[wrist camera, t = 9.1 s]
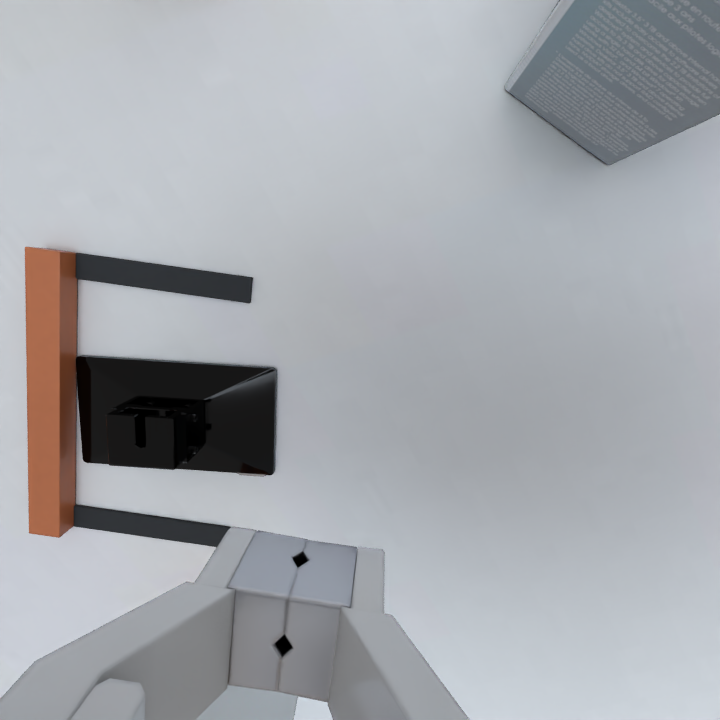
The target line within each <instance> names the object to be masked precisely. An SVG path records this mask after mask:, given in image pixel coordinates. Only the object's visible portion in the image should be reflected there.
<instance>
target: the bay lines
mask: <svg viewBox="0 0 720 720" xmlns="http://www.w3.org/2000/svg"><path fill="white" fill-rule="evenodd" d="M76 279H83V280H90V281H97V282H104V283H111V284H118V285H125V286H132V287H139V288H146V289H154V290H161V291H168V292H175V293H182V294H189V295H196V296H203V297H210V298H217V299H224V300H231V301H238V302H245V303H250V301H251V290H252V279H253V278H251V277H244V276H237V275H230V274H223V273H216V272H209V271H202V270H195V269H187V268H180V267H173V266H166V265H159V264H152V263H145V262H138V261H131V260H124V259H117V258H110V257H103V256H95V255H88V254H81V253H76ZM74 526H75V527H82V528H89V529H96V530H103V531H110V532H117V533H124V534H131V535H138V536H145V537H152V538H159V539H165V540H172V541H179V542H186V543H193V544H200V545H207V546H214V547H217V546H218V545H219V543H220V542H221V540H222V539H223V537H224V535H225V534H226V532H227V531H228V530H229V529H230V528H231V527H227V526H220V525H213V524H206V523H199V522H192V521H185V520H178V519H171V518H164V517H157V516H150V515H143V514H136V513H129V512H122V511H115V510H109V509H102V508H95V507H88V506H81V505H75V506H74Z"/></svg>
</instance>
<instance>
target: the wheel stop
mask: <svg viewBox="0 0 720 720" xmlns="http://www.w3.org/2000/svg"><path fill="white" fill-rule="evenodd" d="M25 285H26V354H27V422H28V491H29V533H31V534H38V535H45V536H52V537H61V536H62V535H63V534H64V533H66V532H67V531H68V530H69V529H70V528H72V527H73V526H74V506H75V475H76V357H77V279H76V253H74V252H67V251H60V250H53V249H46V248H35V247H25Z"/></svg>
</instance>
